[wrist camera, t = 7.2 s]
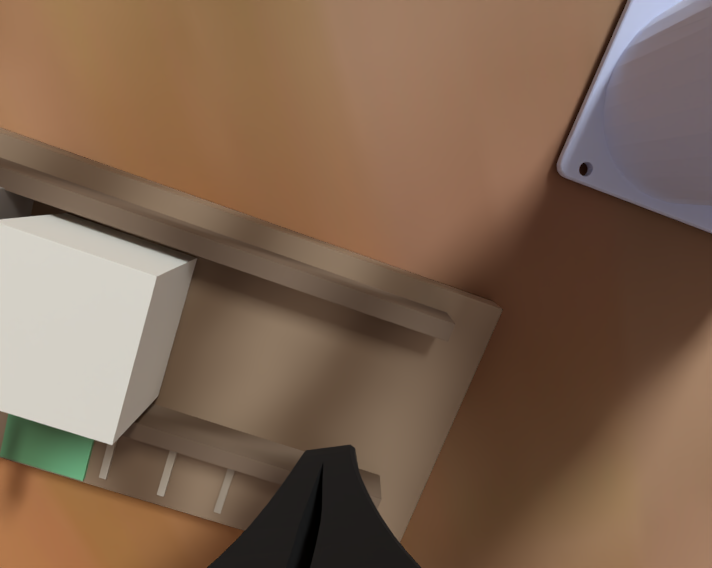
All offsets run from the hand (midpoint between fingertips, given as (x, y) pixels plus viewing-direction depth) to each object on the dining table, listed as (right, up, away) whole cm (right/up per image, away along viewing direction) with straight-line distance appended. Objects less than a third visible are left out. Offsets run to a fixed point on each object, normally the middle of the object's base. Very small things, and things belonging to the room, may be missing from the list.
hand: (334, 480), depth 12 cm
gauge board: (-6, +2, +7) cm, 10 cm away
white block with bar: (-10, +2, +6) cm, 11 cm away
